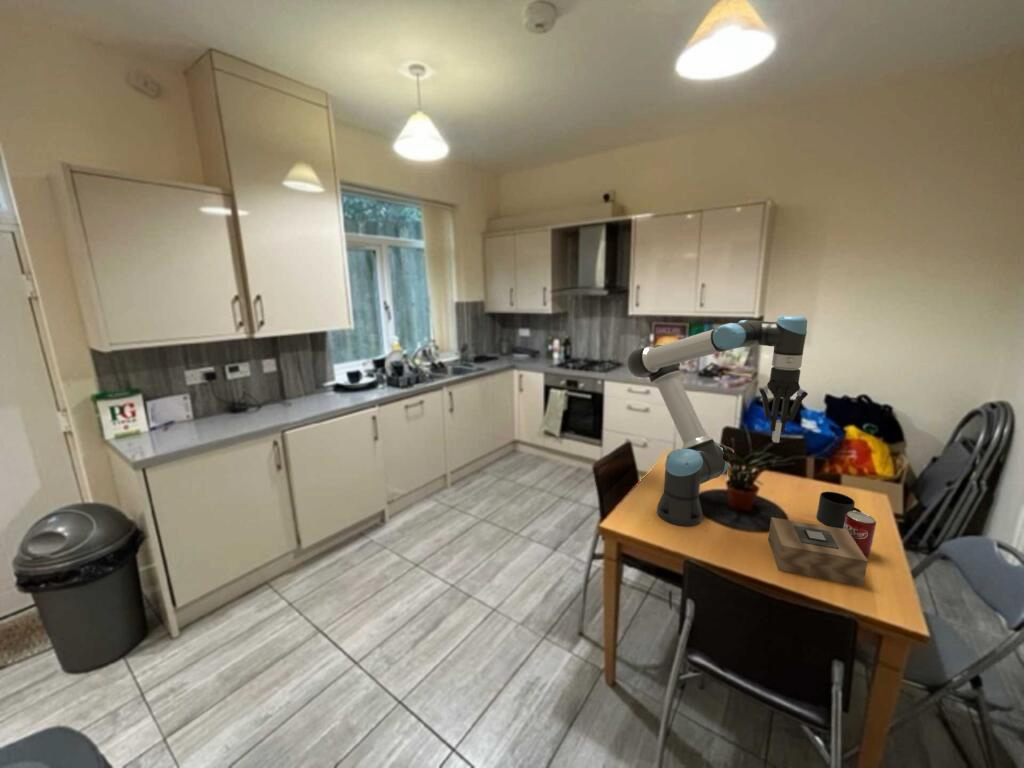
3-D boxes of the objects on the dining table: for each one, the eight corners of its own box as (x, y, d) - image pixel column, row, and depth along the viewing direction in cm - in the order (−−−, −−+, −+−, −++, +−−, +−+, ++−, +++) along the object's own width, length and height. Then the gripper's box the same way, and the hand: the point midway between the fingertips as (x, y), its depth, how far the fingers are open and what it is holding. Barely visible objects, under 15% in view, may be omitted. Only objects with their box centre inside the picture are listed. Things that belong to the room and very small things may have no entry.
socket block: (778, 569, 123) (782, 544, 121) (768, 539, 138) (771, 516, 136) (862, 586, 116) (868, 560, 114) (842, 552, 131) (847, 528, 129)
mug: (859, 535, 139) (864, 510, 137) (815, 523, 147) (819, 499, 145) (859, 522, 147) (864, 498, 145) (817, 511, 154) (821, 488, 152)
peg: (805, 561, 126) (809, 537, 124) (801, 553, 129) (805, 530, 128) (821, 564, 124) (826, 540, 122) (817, 555, 128) (822, 532, 126)
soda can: (857, 561, 127) (864, 525, 124) (833, 547, 134) (840, 512, 131) (875, 556, 129) (883, 521, 126) (850, 543, 135) (857, 509, 133)
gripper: (763, 368, 128) (753, 442, 133) (814, 371, 123) (802, 447, 128) (759, 364, 134) (750, 434, 140) (807, 366, 130) (796, 439, 135)
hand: (775, 440), depth 134 cm, fingers closed
